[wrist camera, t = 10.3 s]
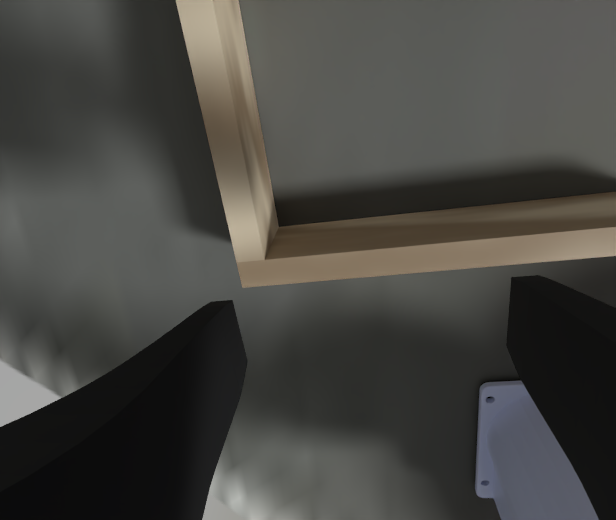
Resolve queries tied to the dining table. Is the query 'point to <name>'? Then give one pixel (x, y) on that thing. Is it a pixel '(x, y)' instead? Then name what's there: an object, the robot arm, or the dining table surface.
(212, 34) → the crate
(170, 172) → the dining table surface
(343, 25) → the dining table surface
